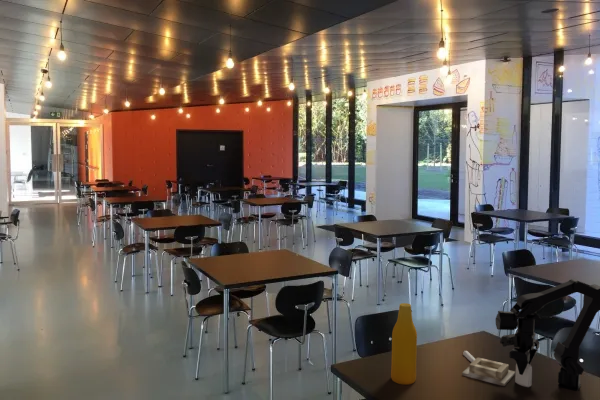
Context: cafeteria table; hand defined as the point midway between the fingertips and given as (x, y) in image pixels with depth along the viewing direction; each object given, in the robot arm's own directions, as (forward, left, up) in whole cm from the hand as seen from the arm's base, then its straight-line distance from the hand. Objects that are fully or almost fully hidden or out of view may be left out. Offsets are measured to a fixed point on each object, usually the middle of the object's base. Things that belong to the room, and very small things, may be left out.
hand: (523, 371), depth 197 cm
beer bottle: (+37, +24, -5) cm, 44 cm away
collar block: (+13, -1, -5) cm, 14 cm away
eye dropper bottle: (0, 0, -5) cm, 5 cm away
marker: (+24, -12, -6) cm, 28 cm away
